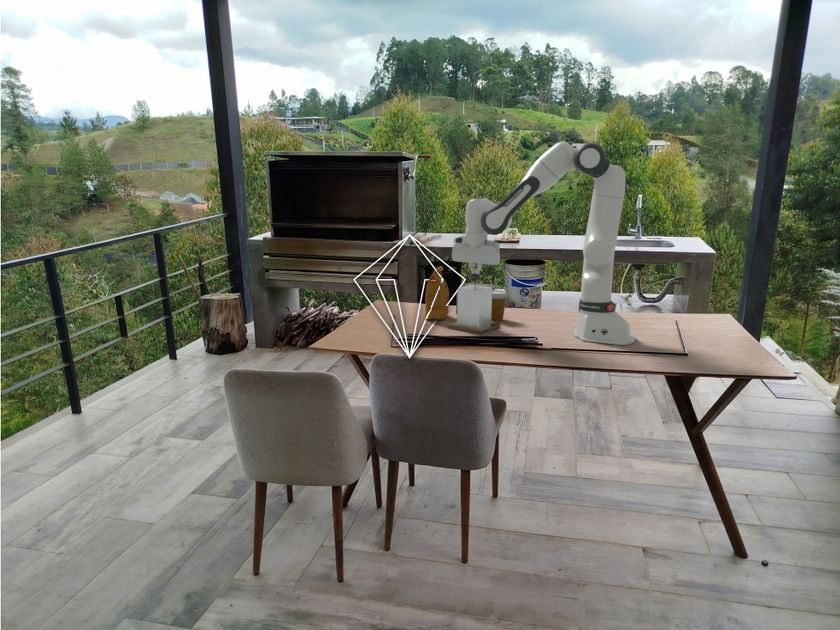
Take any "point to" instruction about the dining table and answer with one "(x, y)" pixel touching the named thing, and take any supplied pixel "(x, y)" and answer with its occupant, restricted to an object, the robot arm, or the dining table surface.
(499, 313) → the disposable coffee cup
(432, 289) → the coffee package
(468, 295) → the block
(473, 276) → the plunger
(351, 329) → the dining table surface
